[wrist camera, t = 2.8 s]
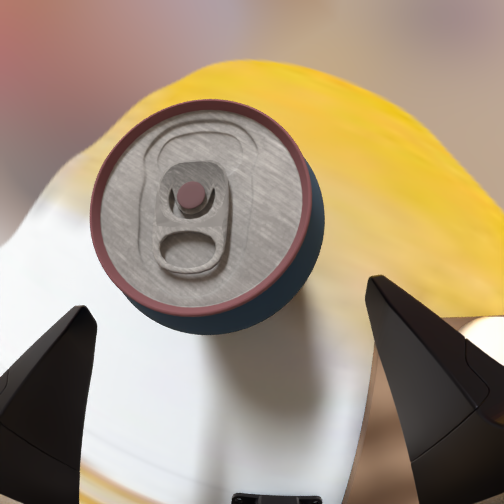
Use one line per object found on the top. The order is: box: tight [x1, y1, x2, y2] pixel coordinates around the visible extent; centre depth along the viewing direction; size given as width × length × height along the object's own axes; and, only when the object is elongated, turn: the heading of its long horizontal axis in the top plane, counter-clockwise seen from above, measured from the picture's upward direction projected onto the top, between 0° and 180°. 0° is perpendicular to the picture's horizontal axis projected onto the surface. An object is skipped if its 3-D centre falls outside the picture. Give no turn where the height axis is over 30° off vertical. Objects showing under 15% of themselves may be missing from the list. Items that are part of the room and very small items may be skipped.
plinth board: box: [342, 315, 504, 504], centre depth 14 cm, size 16×16×3 cm
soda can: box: [90, 99, 325, 335], centre depth 13 cm, size 7×7×12 cm
